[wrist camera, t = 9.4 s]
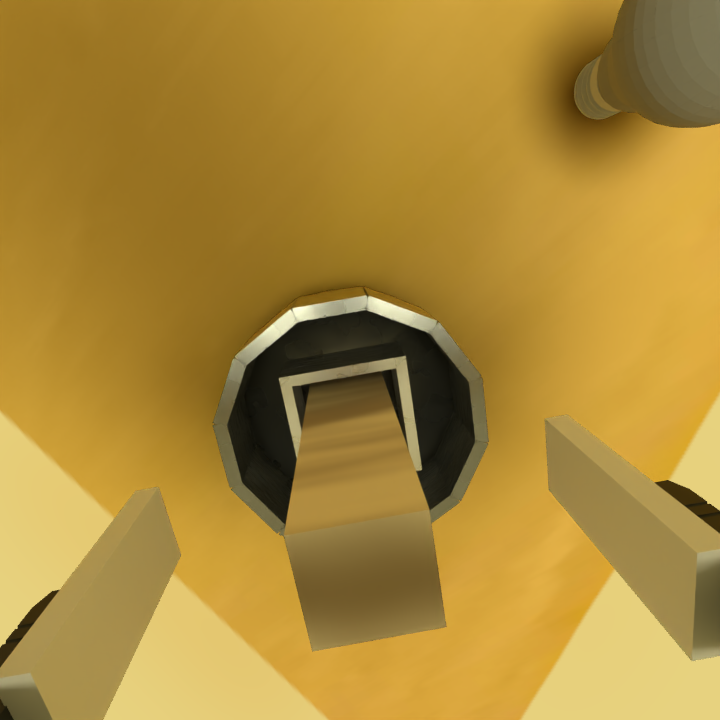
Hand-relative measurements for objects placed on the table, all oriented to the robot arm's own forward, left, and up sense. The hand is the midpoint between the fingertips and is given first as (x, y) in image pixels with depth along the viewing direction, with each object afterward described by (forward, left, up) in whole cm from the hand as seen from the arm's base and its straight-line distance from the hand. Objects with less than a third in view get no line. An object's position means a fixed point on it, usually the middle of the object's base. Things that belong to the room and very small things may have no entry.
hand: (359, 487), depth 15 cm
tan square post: (0, 0, -9) cm, 9 cm away
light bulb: (-13, +14, -10) cm, 21 cm away
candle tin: (0, 0, -10) cm, 10 cm away
